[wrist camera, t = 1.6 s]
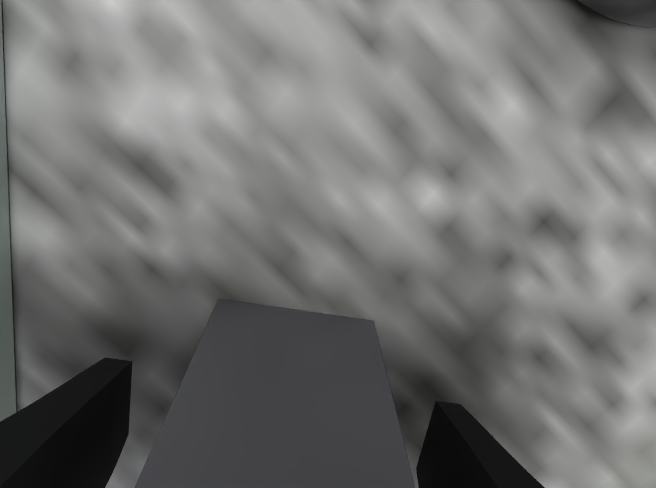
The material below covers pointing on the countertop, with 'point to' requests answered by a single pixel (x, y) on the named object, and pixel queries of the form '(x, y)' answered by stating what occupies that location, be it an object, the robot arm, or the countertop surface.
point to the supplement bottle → (626, 10)
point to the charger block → (281, 407)
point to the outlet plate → (5, 268)
